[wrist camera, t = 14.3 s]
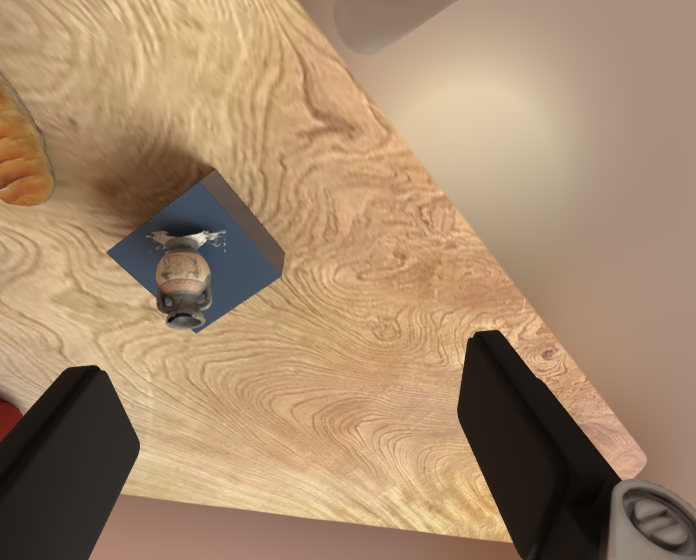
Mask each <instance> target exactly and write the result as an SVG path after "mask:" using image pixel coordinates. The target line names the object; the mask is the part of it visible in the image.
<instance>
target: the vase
mask: <svg viewBox="0 0 696 560" xmlns="http://www.w3.org/2000/svg"><path fill="white" fill-rule="evenodd" d="M222 232H223V234H224V233H226V230H224V231H219V232H215V231H213V233H209V231H203V232H202V233H200V232H199V233H198V234H195V235H189V236H184V237H171V236H169V237H168V236H167V235H168V234H167V233H168V232H165V231H160V232H152V234H154V235H155V236H156V238H155V237H154V236H153V239H154V240H155V241H157V242H159V243H162V244H163V245H165V247H163V249H164V248H167V250H168V252H166V253H165V255H164V256H163V258H162V259H161V260H160V262H159V264H158V267H157V270H156V284H157V307H158V310H159V311H160V312H162V313H164V314H169V315H168V317H167V320H166V325H167V326H168V327H170V328H174V329H192V328H196V327H199V326H201V325H203V324H204V323H205V318H204V315H203V313H202V311H204V310H206V309H208V308H209V307H210V306H211V304H212V293H211V286H210V283H211V274H210V269H209V266H208V264H207V262H206V261H205V259H204V258H203V257H202V256H201V254H199V253H198V252H197V249H198V248H199V246H202V245H203V244H204V243H205V242H206V241H207V239H206V238H209V239H208V240H213V239H214V238H217V237H219V236H217V235H218V234H220V233H222ZM160 233H161V234H160ZM166 234H167V235H166ZM208 234H209V235H208ZM226 235H227V234H226ZM216 236H217V237H216ZM147 237H150V236H146V238H147ZM220 237H221V236H220ZM222 237H223V236H222ZM150 238H151V237H150ZM214 240H215V239H214ZM224 240H225V239H224ZM215 241H216V242H217V240H215ZM216 242H215V243H216ZM154 243H155V242H154ZM210 244H211V243H210ZM212 245H214V243H213V244H212ZM224 245H225V243H224ZM161 246H162V245H161ZM214 246H216V247H218V246H217V245H214ZM152 247H153V246H152ZM158 247H159V246H157V248H156V249H157V250H158V249H159V248H160V247H159V248H158ZM219 247H220V244H219ZM161 249H162V248H161ZM224 251H225V249H224ZM150 253H151V252H150ZM225 253H226V252H225ZM201 296H203V298H204V299H202V300H203V301H199V303H197V301H198V298H200V297H201ZM166 298H167V299H170V300H171V302H170V303H167V302H166V301H165V299H166ZM167 301H168V300H167ZM165 302H166V303H167V304H166V303H165ZM149 322H150V321H149ZM142 323H143V322H142ZM149 324H150V323H149ZM151 334H152V333H151Z"/></svg>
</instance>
